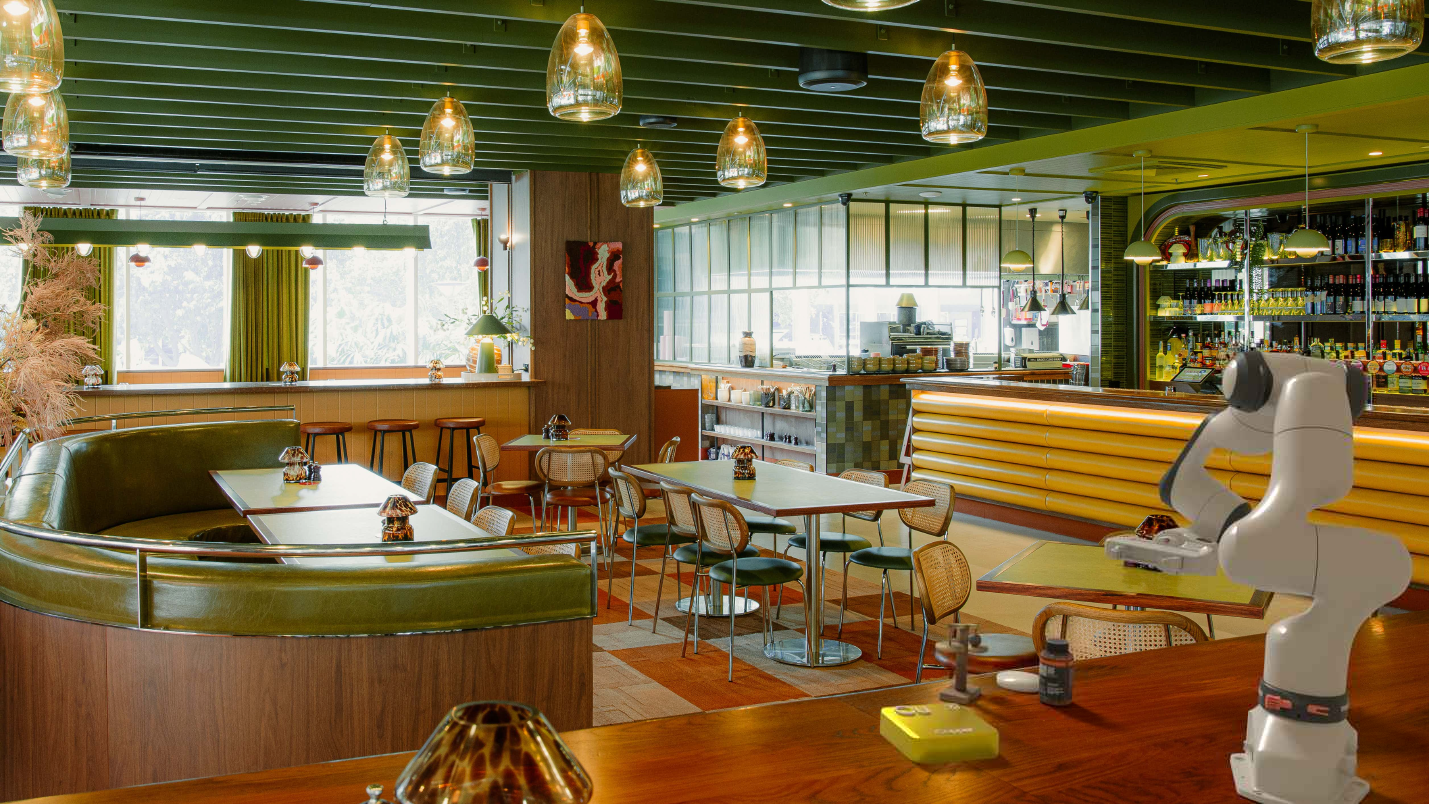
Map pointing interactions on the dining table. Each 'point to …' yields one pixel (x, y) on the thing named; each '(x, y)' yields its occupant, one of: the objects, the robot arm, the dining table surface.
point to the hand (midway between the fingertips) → (1136, 559)
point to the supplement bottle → (1056, 673)
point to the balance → (962, 662)
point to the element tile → (939, 733)
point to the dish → (1018, 681)
